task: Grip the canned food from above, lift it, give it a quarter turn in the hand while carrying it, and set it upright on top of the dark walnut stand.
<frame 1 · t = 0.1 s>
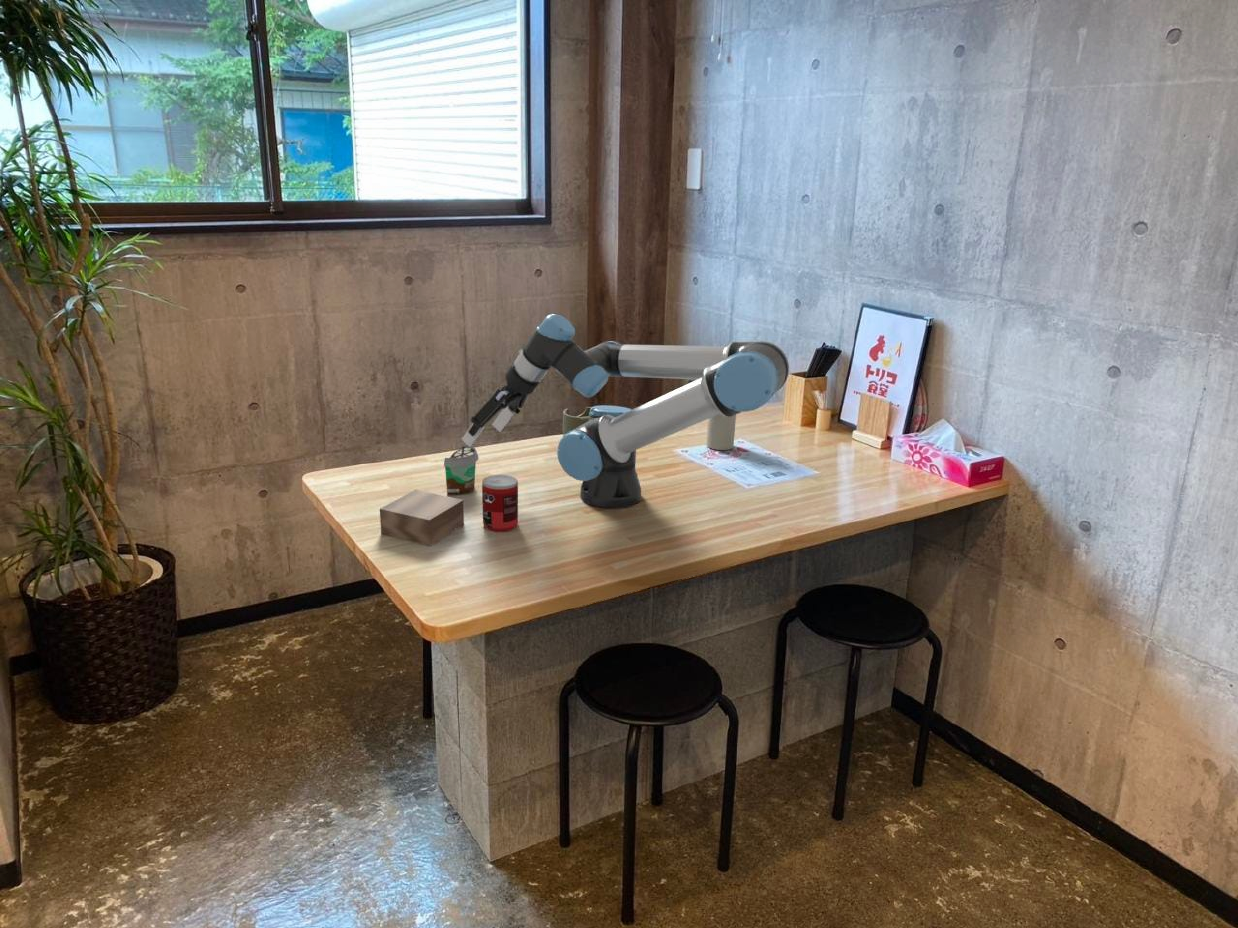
hand: (481, 435, 213), 15 cm above the table, tool tilted 35°, fingers open, 13 cm apart
canned food: (500, 526, 201), on the table
walnut stand: (423, 529, 198), on the table
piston: (582, 453, 251), on the table
food container: (465, 490, 221), on the table
travel mug: (719, 447, 261), on the table
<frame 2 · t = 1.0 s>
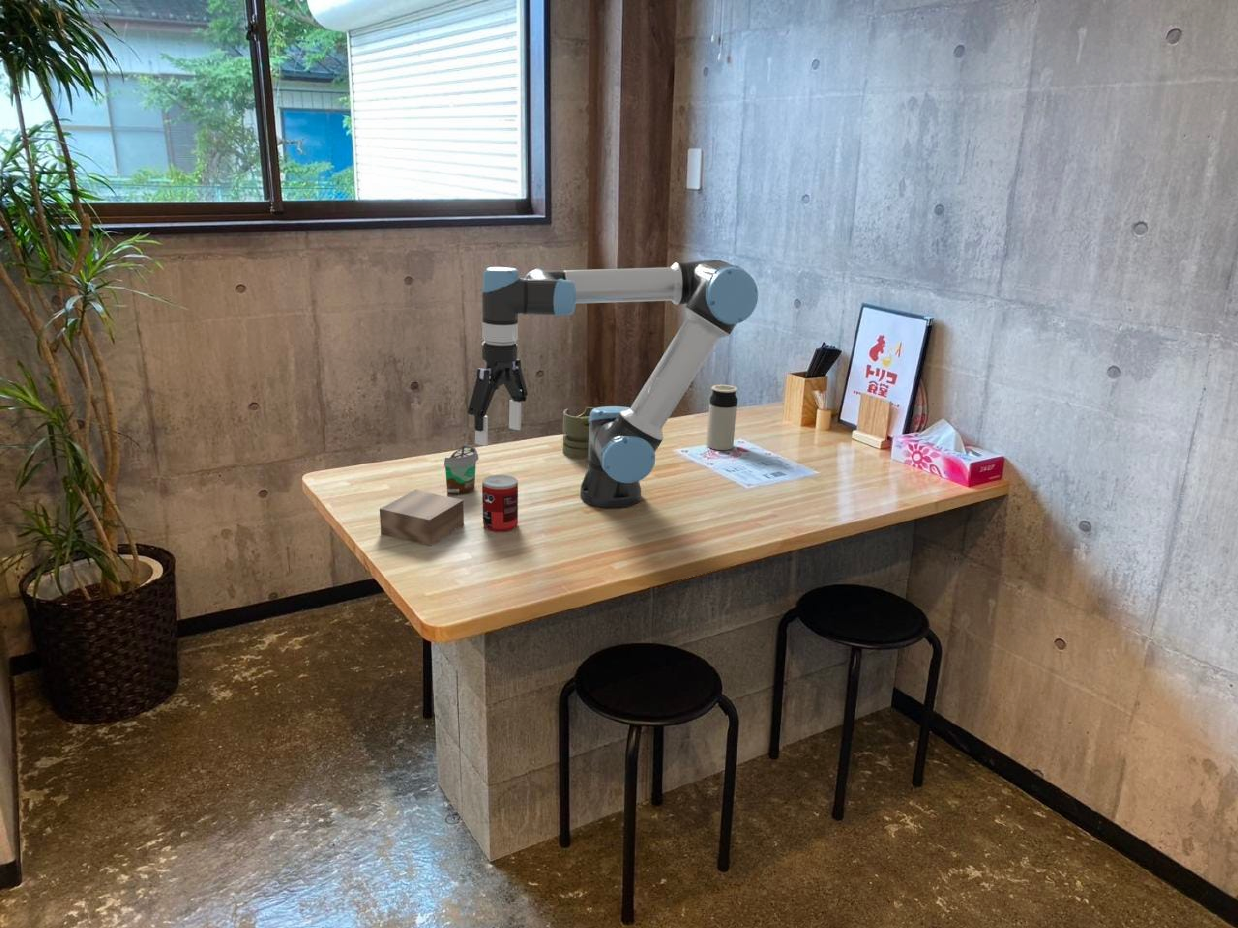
hand: (498, 436, 195), 21 cm above the table, tool pointing down, fingers open, 13 cm apart
nothing on the table moved.
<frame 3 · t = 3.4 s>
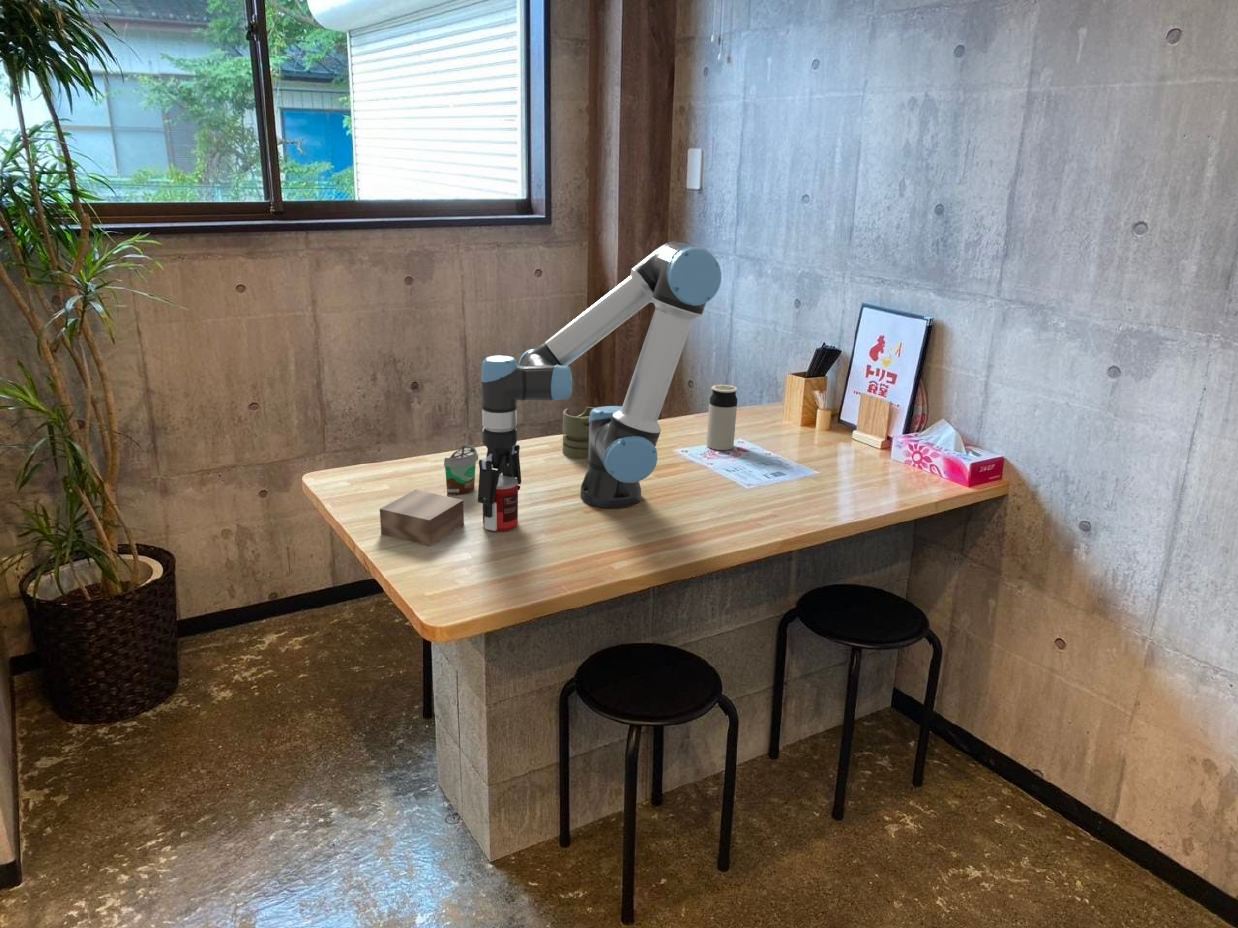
hand: (500, 522, 201), 1 cm above the table, tool pointing down, fingers closed on canned food, 8 cm apart
canned food: (500, 526, 201), on the table, touching gripper
everything else where it was.
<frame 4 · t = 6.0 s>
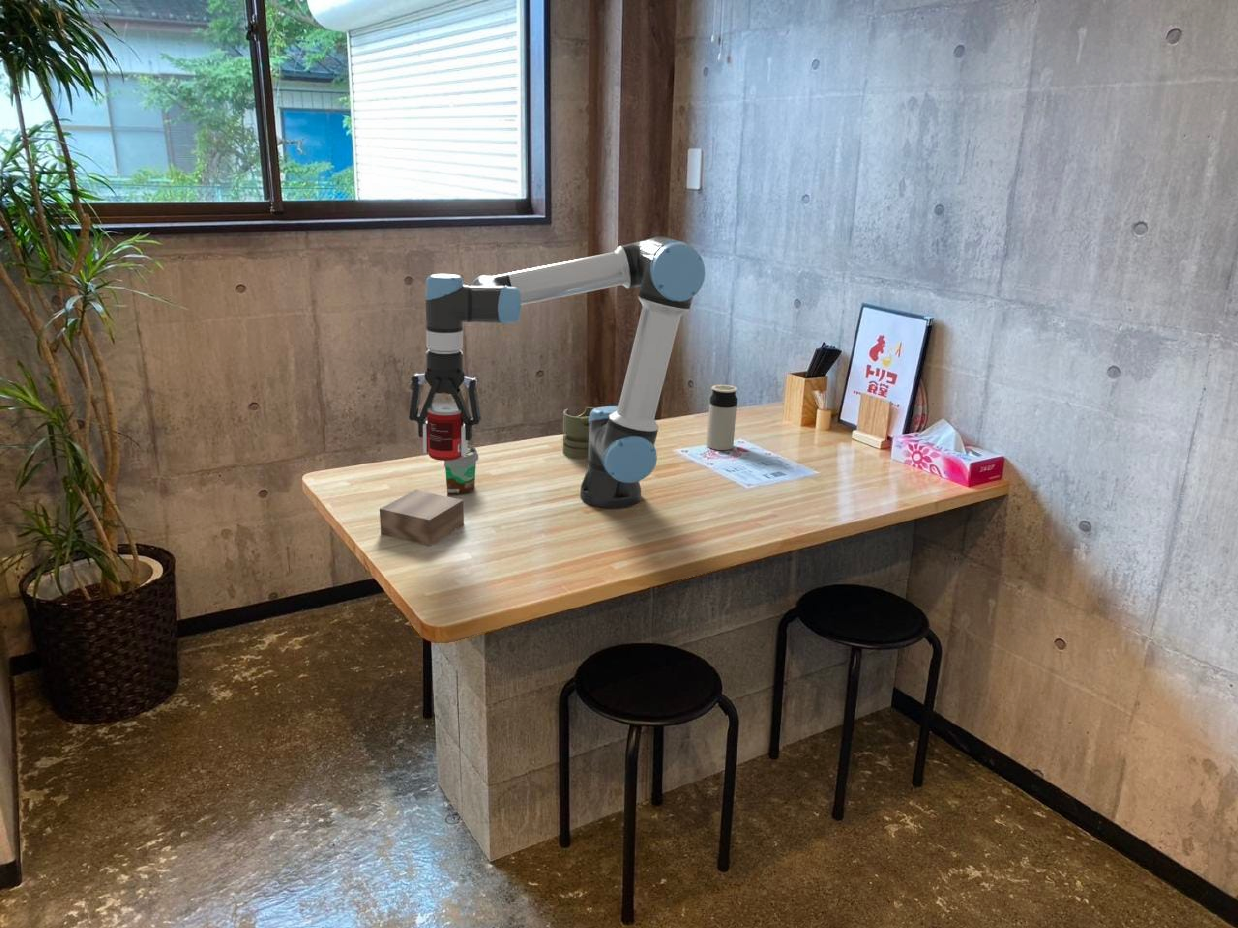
hand: (445, 452, 193), 18 cm above the table, tool pointing down, fingers closed on canned food, 8 cm apart
canned food: (445, 456, 193), point 17 cm above the table, touching gripper
everything else where it was.
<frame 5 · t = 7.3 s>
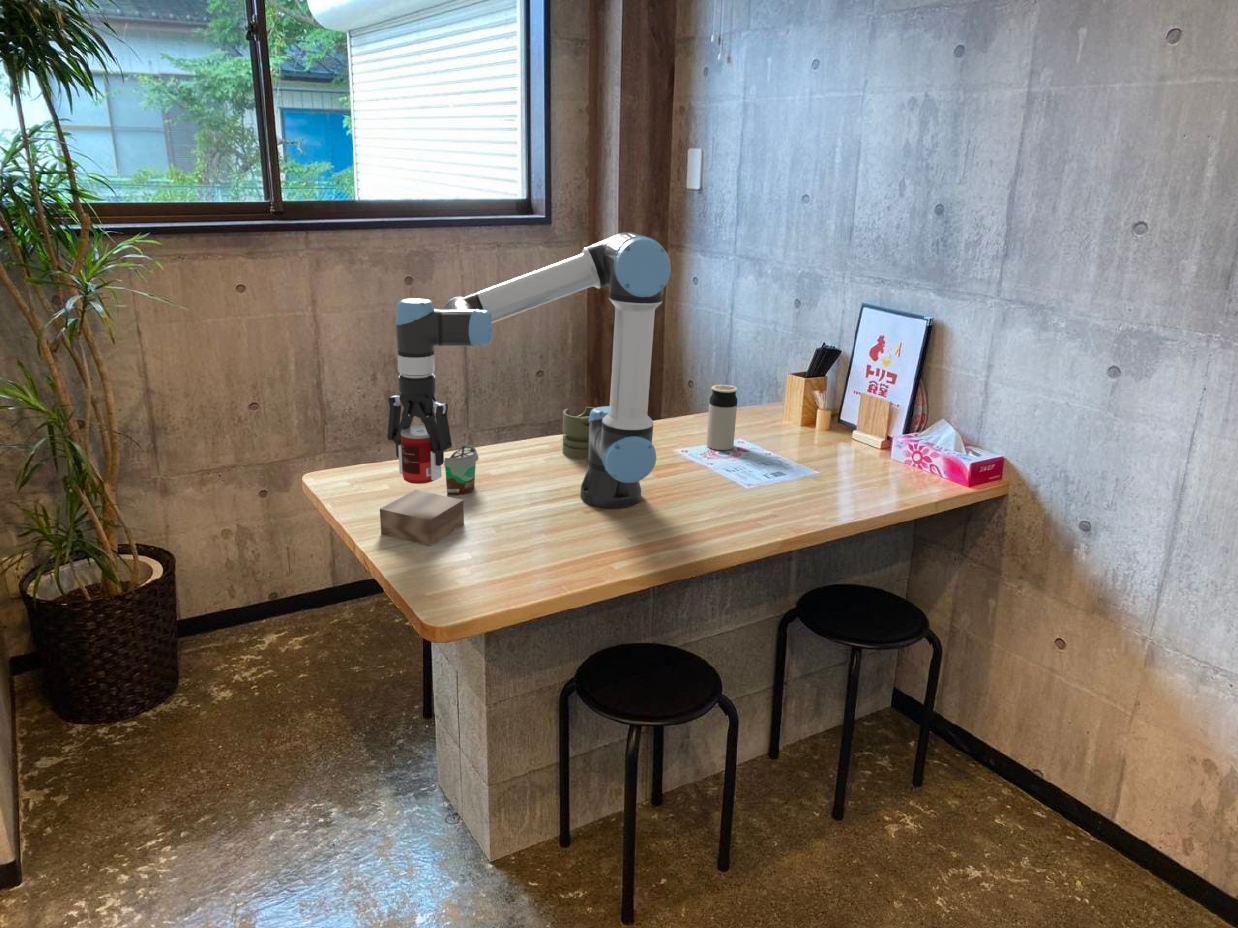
hand: (420, 475, 193), 13 cm above the table, tool pointing down, fingers closed on canned food, 8 cm apart
canned food: (420, 478, 193), point 12 cm above the table, touching gripper
everything else where it was.
when the fingers open (8 cm above the table, at t = 8.5 s): canned food drops 1 cm, resting on walnut stand.
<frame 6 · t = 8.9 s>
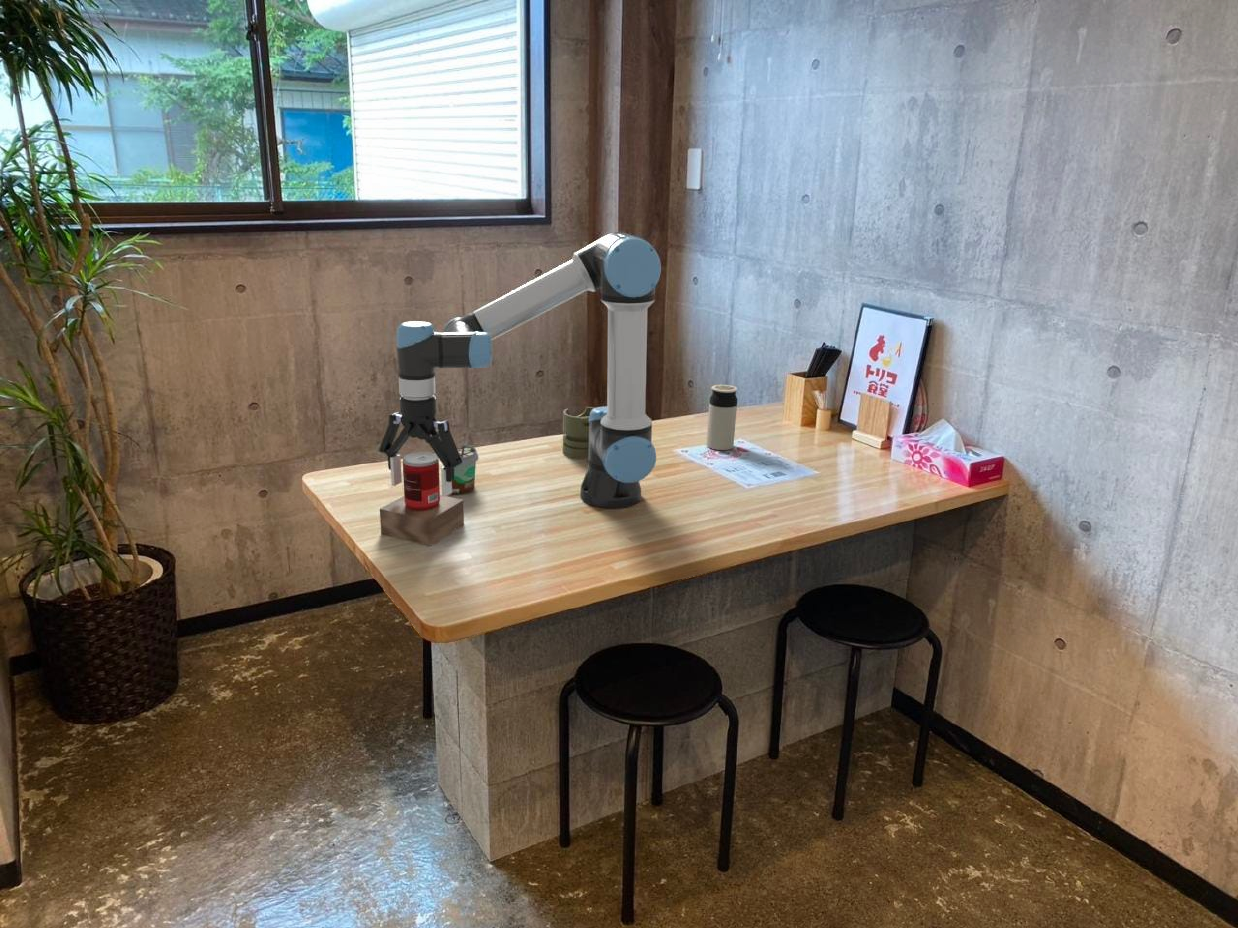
hand: (421, 489, 194), 10 cm above the table, tool pointing down, fingers open, 13 cm apart
canned food: (422, 505, 196), point 6 cm above the table, touching walnut stand
everything else where it was.
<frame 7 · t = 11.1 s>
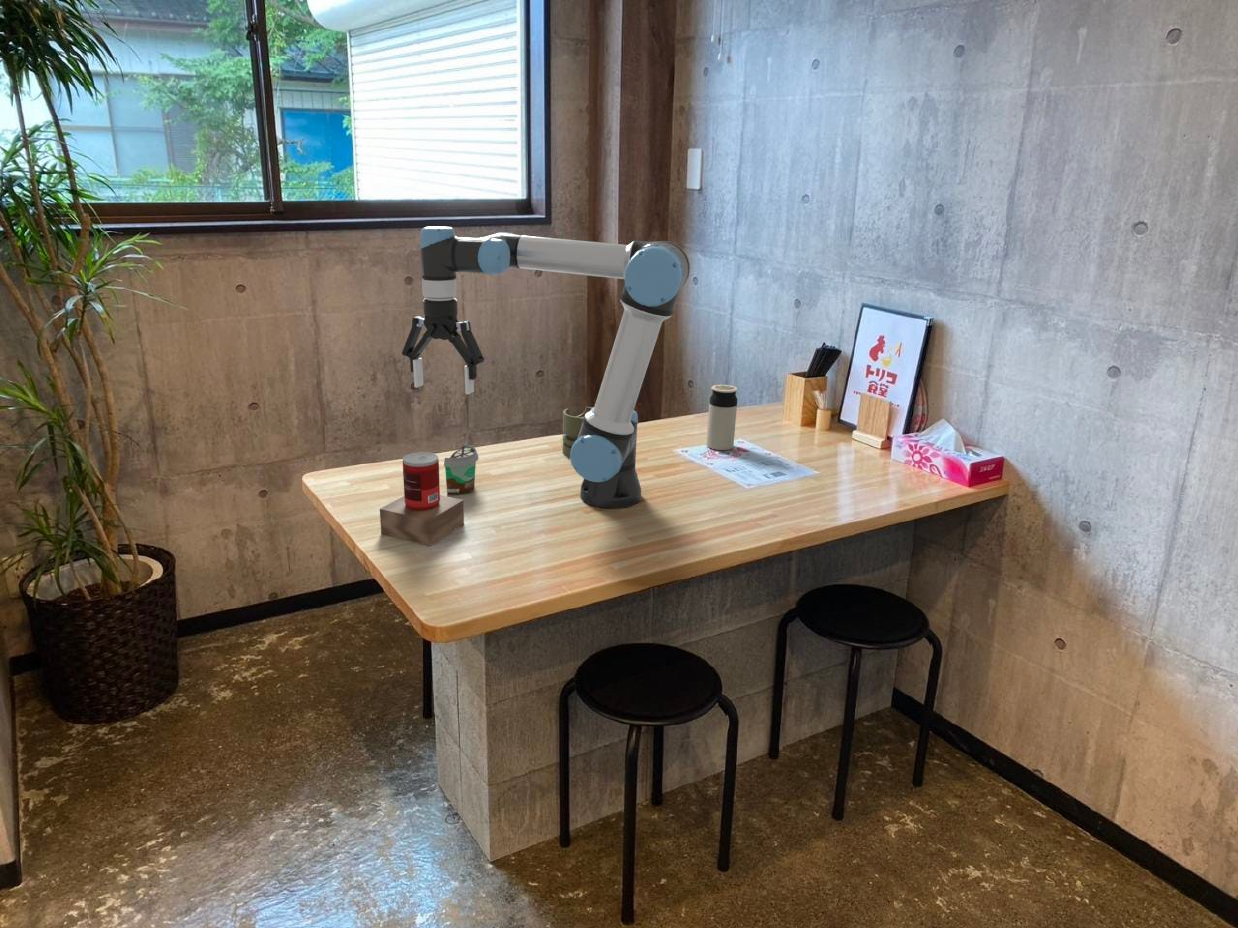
hand: (444, 389, 205), 28 cm above the table, tool pointing down, fingers open, 13 cm apart
nothing on the table moved.
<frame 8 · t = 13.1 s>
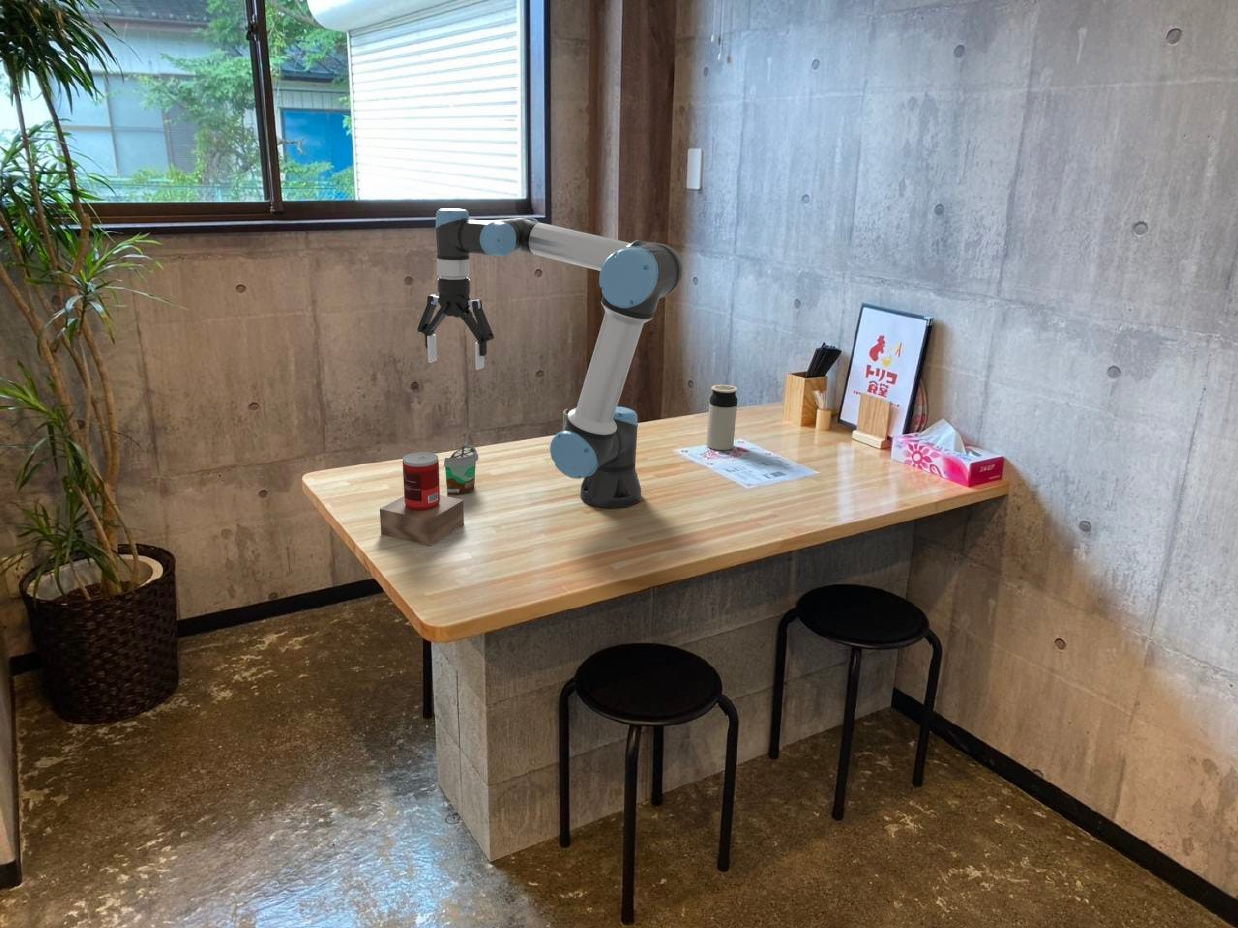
hand: (456, 365, 215), 31 cm above the table, tool pointing down, fingers open, 13 cm apart
nothing on the table moved.
at the end: canned food inside the target area on the walnut stand (0.1 cm from its centre), point 5.8 cm above the walnut stand's base; canned food tilted 0°; canned food touching walnut stand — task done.
